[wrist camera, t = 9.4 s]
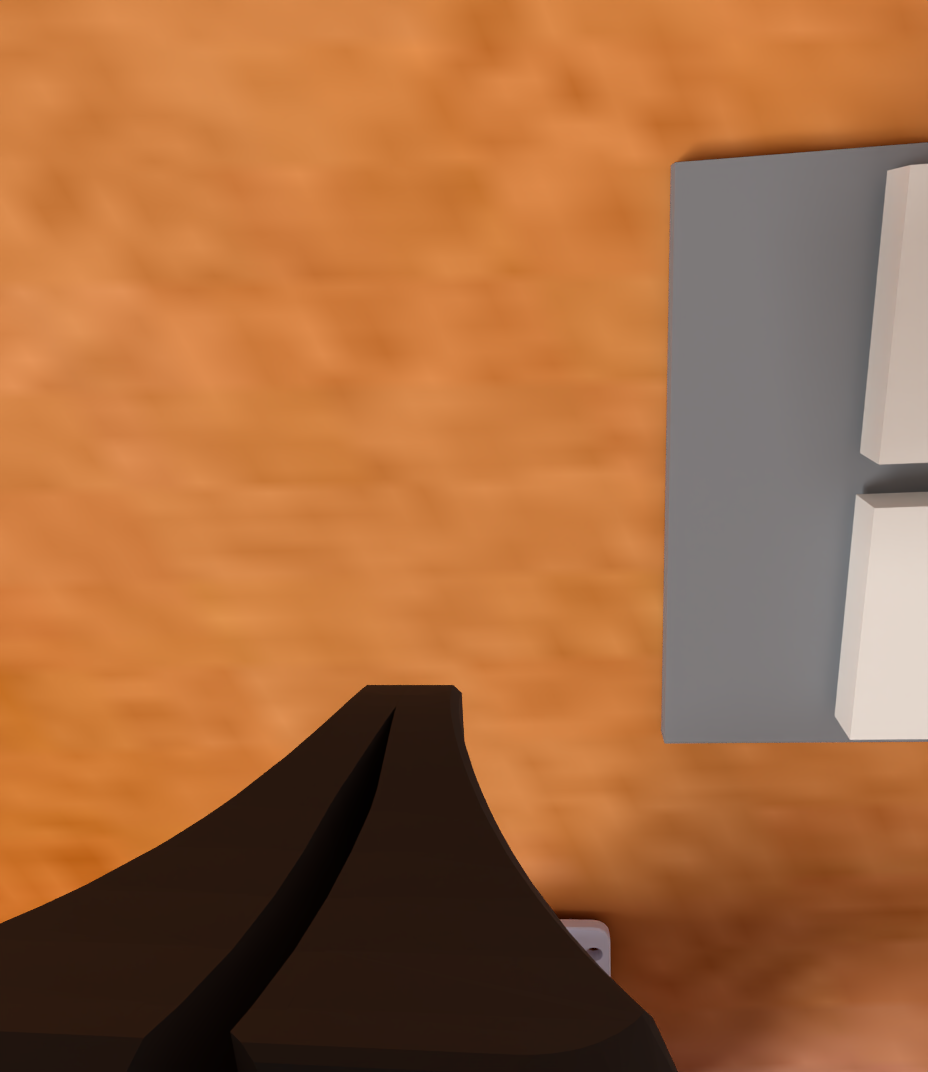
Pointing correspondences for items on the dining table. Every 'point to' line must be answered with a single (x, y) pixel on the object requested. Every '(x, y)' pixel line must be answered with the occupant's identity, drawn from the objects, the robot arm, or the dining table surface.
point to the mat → (768, 436)
